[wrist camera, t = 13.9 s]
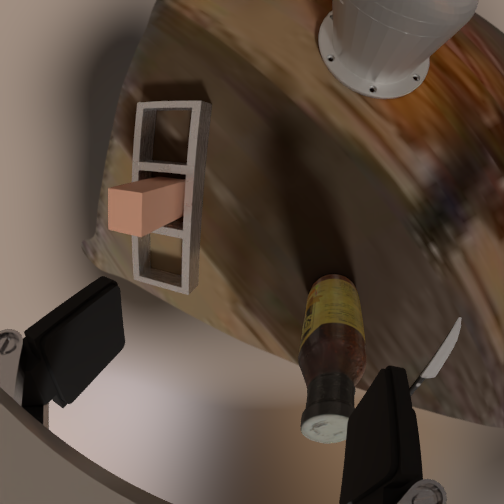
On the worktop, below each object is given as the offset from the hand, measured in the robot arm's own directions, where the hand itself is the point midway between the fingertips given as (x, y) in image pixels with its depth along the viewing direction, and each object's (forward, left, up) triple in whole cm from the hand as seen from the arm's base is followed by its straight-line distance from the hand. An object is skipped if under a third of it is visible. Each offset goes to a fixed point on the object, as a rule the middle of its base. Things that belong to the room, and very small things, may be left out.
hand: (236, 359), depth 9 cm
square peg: (+1, -17, -26) cm, 30 cm away
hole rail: (+1, -17, -26) cm, 30 cm away
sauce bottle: (+10, +5, -26) cm, 28 cm away
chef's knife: (+18, +24, -26) cm, 40 cm away
